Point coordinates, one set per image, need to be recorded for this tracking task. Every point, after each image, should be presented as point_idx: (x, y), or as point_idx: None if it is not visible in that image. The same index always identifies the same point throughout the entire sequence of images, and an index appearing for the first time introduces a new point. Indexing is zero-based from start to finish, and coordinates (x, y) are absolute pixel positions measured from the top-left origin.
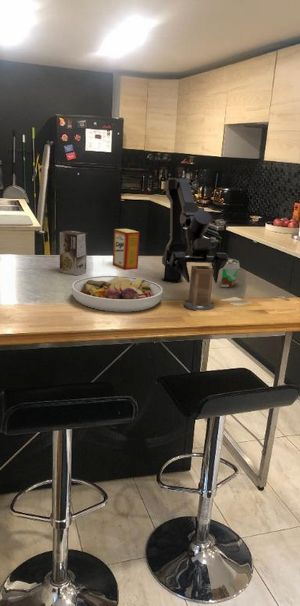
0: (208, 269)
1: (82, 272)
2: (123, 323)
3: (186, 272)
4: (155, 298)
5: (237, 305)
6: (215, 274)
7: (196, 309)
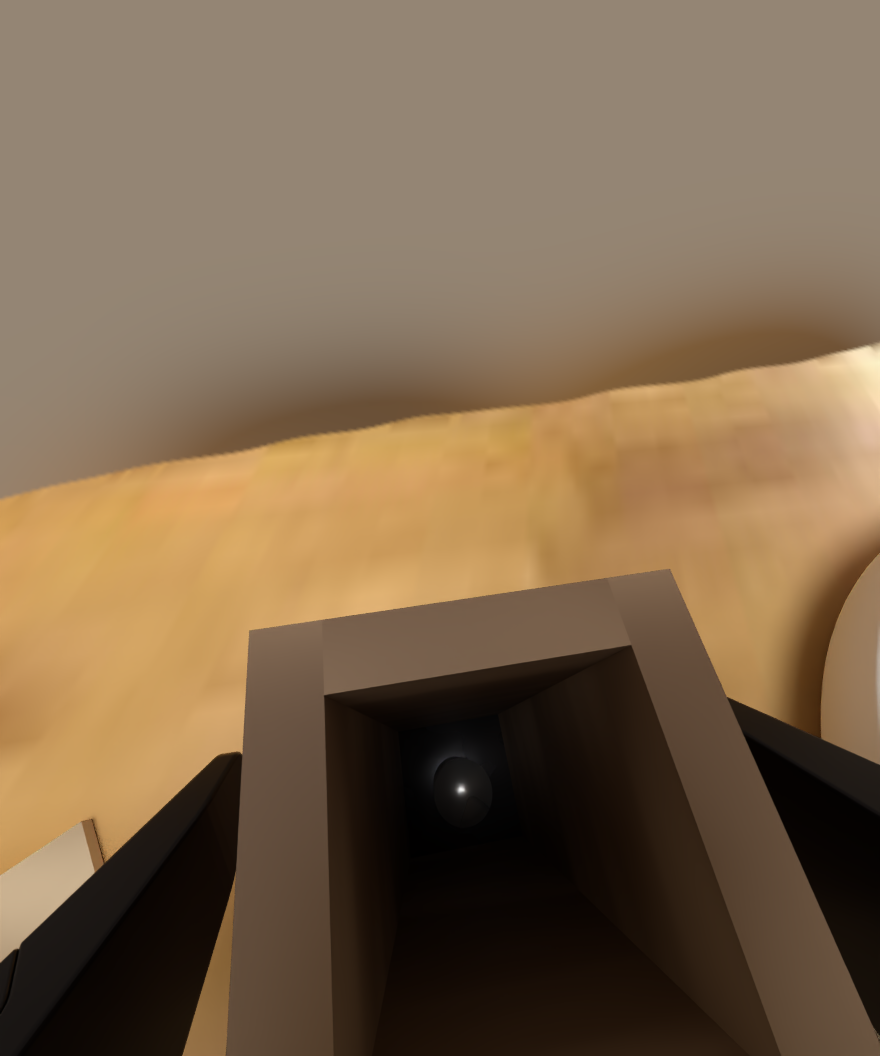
0: (371, 667)
1: None
2: (860, 405)
3: (850, 765)
4: (866, 610)
5: (66, 846)
6: (164, 874)
7: None
